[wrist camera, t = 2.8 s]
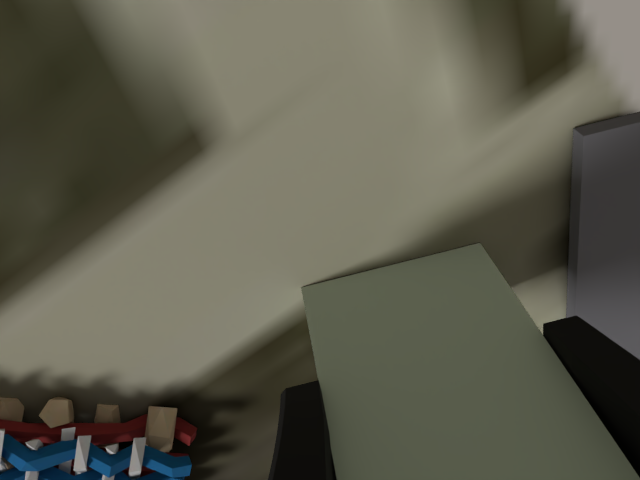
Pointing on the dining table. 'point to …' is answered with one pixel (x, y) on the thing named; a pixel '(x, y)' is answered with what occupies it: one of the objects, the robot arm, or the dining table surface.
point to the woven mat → (91, 444)
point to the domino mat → (606, 229)
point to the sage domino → (448, 379)
